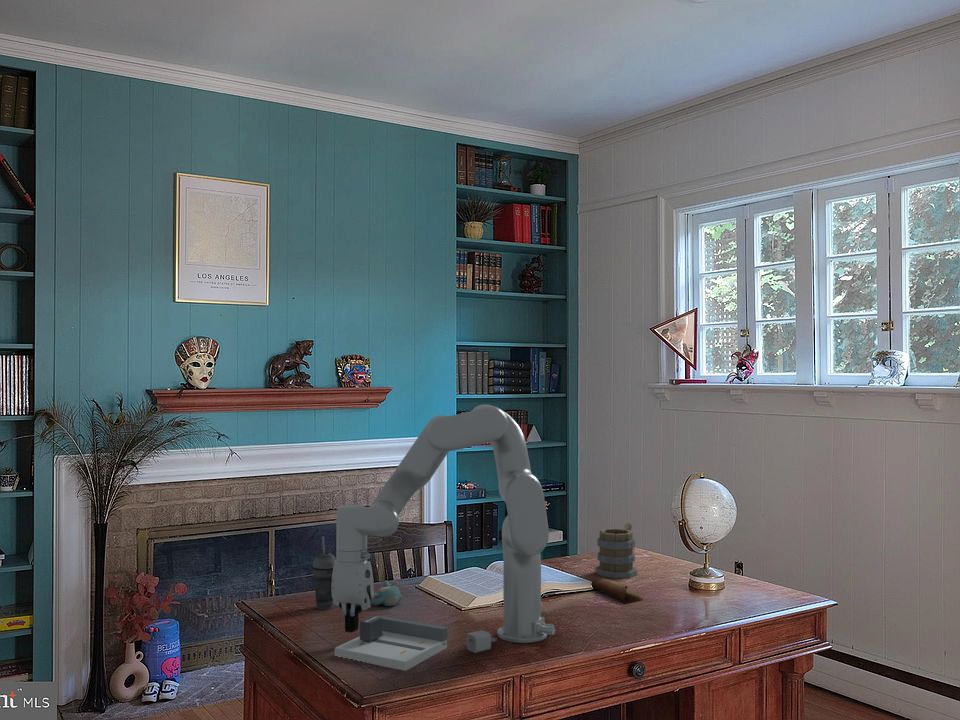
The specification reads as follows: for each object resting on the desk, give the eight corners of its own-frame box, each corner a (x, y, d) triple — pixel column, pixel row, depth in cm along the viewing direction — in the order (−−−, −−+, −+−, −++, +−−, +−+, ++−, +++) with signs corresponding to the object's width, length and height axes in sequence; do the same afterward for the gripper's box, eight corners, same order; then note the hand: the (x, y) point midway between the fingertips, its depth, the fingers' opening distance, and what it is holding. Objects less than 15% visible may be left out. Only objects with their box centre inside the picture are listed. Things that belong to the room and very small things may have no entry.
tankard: (626, 580, 270) (626, 533, 271) (590, 574, 277) (590, 529, 277) (649, 568, 287) (649, 523, 287) (615, 563, 294) (615, 520, 294)
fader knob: (382, 635, 205) (382, 617, 205) (370, 641, 201) (370, 622, 201) (372, 634, 207) (372, 615, 207) (359, 639, 202) (359, 620, 202)
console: (447, 647, 204) (447, 626, 204) (405, 670, 188) (405, 648, 188) (379, 635, 214) (379, 615, 214) (334, 656, 198) (334, 634, 198)
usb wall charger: (466, 649, 203) (466, 632, 203) (489, 643, 207) (489, 627, 207) (476, 653, 200) (476, 636, 200) (499, 648, 204) (499, 631, 204)
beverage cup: (320, 613, 233) (320, 540, 234) (307, 607, 239) (307, 536, 239) (342, 608, 238) (343, 537, 238) (329, 602, 244) (329, 533, 244)
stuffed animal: (390, 577, 252) (409, 577, 242) (392, 602, 251) (412, 603, 241) (358, 582, 246) (376, 583, 236) (359, 607, 245) (378, 609, 235)
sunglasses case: (648, 599, 247) (638, 581, 245) (631, 614, 244) (621, 596, 243) (612, 585, 263) (603, 568, 261) (596, 599, 260) (587, 582, 259)
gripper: (385, 556, 207) (385, 631, 206) (337, 549, 214) (336, 622, 214) (367, 562, 200) (367, 639, 200) (318, 555, 207) (317, 630, 207)
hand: (351, 630), depth 207 cm, fingers closed
